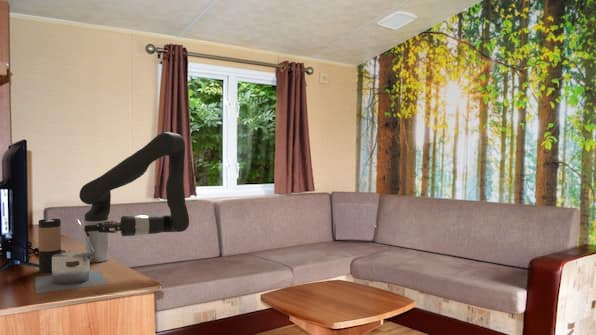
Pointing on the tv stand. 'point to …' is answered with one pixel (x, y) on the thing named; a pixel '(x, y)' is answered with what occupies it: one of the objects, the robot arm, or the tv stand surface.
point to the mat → (46, 285)
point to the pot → (71, 268)
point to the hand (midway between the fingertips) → (84, 228)
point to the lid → (85, 236)
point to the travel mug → (48, 243)
